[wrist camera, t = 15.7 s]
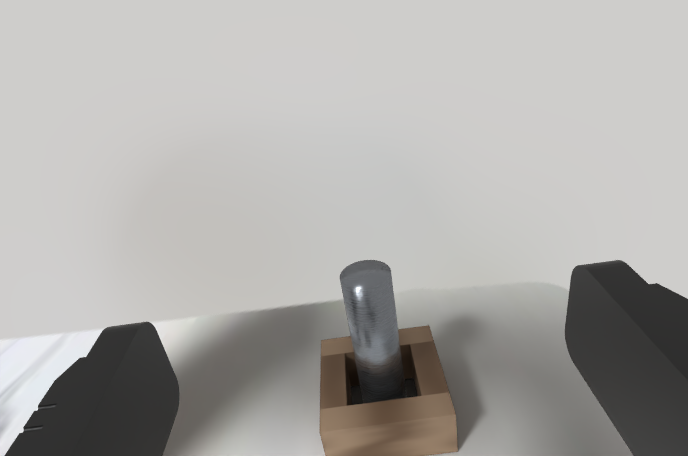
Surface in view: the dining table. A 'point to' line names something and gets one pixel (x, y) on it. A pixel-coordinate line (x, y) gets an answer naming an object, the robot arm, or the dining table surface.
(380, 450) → the wooden square socket block
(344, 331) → the dining table surface
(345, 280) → the rod
